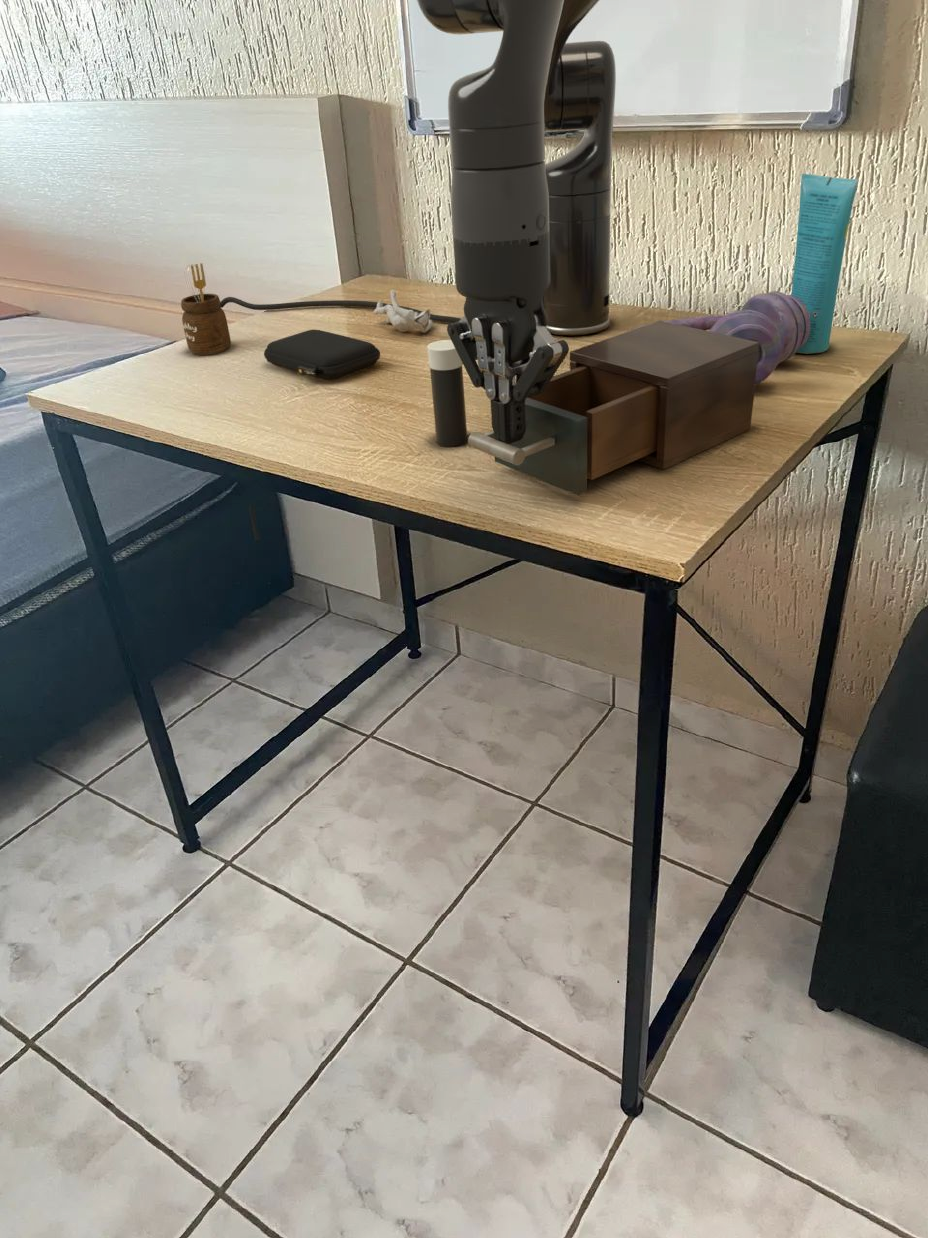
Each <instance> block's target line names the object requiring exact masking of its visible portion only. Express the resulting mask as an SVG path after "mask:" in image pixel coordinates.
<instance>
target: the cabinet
mask: <svg viewBox="0 0 928 1238" xmlns="http://www.w3.org/2000/svg"><path fill="white" fill-rule="evenodd" d="M664 321H665V320H658V321H655V322H652V323H648V324H649V325H647V324H645V325H646V326H643V325H642V326H643V327H640V326H639V327H640V328H637V327H636V328H637V329H634V328H633V329H634V330H632V329H631V330H629V331H626V332H622V333H620V334H617V335H614V336H611V337H608V338H606V339H602V340H599V341H596V342H594V343H592V344H588V345H585V346H583V347H579V348H576V349H574V350H571V351H569V371H570V370H573V369H576V368H578V367H581V366H584V365H587V366H591V367H594V368H598V369H602V370H605V371H609V372H612V373H616V374H619V375H623V376H627V377H630V378H634V379H637V380H641V381H644V382H648V383H652V384H655V385H659V386H660V398H659V420H658V441H657V451H655V452H653V453H651V454H648V455H646V456H644V457H642V458H640V459H637V460H636V461H638V462H641V463H645V464H647V465H649V466H652V467H655V468H657V469H660V470H666V469H668V468H671V467H673V466H674V465H677V464H679V463H681V462H683V461H685V460H687V459H689V458H691V457H694V456H696V455H698V454H700V453H702V452H705V451H707V450H709V449H710V448H712V447H714V446H717V445H720V444H721V443H724V442H726V441H727V440H730V439H732V438H734V437H737V436H738V435H741V434H742V433H745V432H747V431H749V430H750V429H751V426H752V416H753V408H754V399H755V389H756V385H755V380H756V370H757V360H758V351H759V342H755V341H751V340H746V339H742V338H737V337H732V336H728V335H723V334H719V333H714V332H710V330H701V329H696V328H692V327H687V326H682V325H678V324H673V323H669V322H664Z"/></svg>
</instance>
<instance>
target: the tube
mask: <svg viewBox="0 0 928 1238" xmlns="http://www.w3.org/2000/svg"><path fill="white" fill-rule="evenodd" d="M859 181H860V180H859V179H857V178H843V177H832V176H826V175H825V176H824V175H817V174H810V173H802V174H801V179H800V192H799V193H800V194H799V209H798V222H797V232H796V233H797V234H796V246H795V254H794V255H795V256H794V263H793V264H794V265H793V277H792V285H791V287H792V288H791V295H793V296H795V297H797V298H799V299H800V300H801V301H802V302H803V304H804V305H805V307H806V308H807V310H808V313H809V317H810V324H811V327H810V334H809V337H808V339H807V341H806V343H805V344H804V345H803V346H802V347H801V348H799V349H798V351H797V352H796V354H797V353H798V354H805V355H808V354H809V355H810V354H819V353H820V354H821V353H825V352H826V351H827V350H828V349H829V347H830V342H831V341H830V340H831V334H832V327H833V320H834V314H835V307H836V302H837V295H838V289H839V282H840V276H841V270H842V266H843V265H842V264H843V259H844V254H845V247H846V242H847V237H848V233H849V225H850V221H851V215H852V211H853V206H854V201H855V197H856V192H857V187H858V183H859Z"/></svg>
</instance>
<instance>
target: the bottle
mask: <svg viewBox="0 0 928 1238" xmlns="http://www.w3.org/2000/svg"><path fill="white" fill-rule="evenodd" d="M426 346H427V347H426V351H427V360H428V361H427V362H428V367H429V371H430V383H431V394H432V404H433V405H432V406H433V417H434V428H435V440H436V444H437V445H438V446H441V447H447V448H451V447H459V446H461V445H464V444H466V443H467V442H468V430H467V415H466V401H465V387H464V386H465V385H464V371H463V366H464V365H463V363H462V361H461V359H460V357H459V355H458V353H457V351H456V349H455V347H454V345H453V343H452V341H451V339H441V340H436V341H435V340H434V341H432V342H430V343H429V344H427V345H426Z"/></svg>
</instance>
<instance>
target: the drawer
mask: <svg viewBox="0 0 928 1238" xmlns="http://www.w3.org/2000/svg"><path fill="white" fill-rule="evenodd" d="M659 398H660V386H659V385H655V384H652V383H648V382H644V381H641V380H637V379H634V378H630V377H627V376H623V375H619V374H616V373H612V372H609V371H605V370H602V369H598V368H594V367H591V366H587V365H584V366H581V367H578V368H576V369H573V370H570V369H569V370H567V371H565V372H562V373H559V374H556V375H554V376H553V377H552V379H551V380H550V382H549V383H548V385H547V386H546V388H545V390H544V391H543V393H541V394H538V395H534V396H531V397H528V398H526V400H525V420H526V423H525V424H526V431H525V434H524V436H523V438H522V439H521V440H519V441H516V442H513V443H511V444H506V443H504V442H501V441H499V440H496V439H495V438H494V432H493V430H490V431H487V432H485V433H481V432H478V431H473V432H471V433H470V435H469V436H468V437H467V443H468V446H469V447H470V448H472V449H475V450H477V451H480V452H483V453H485V454H487V455H490V456H493V457H494V462H495V463H496V464H499V465H502V466H505V467H507V468H509V469H512V470H514V471H517V472H520V473H522V474H524V475H527V476H529V477H531V478H534V479H535V480H539V481H541V482H544V483H547V484H548V485H551V486H553V487H556V488H558V489H560V490H563V491H566V492H568V493H569V494H572V495H575V496H580V495H582V494H585V493H587V492H588V479H589V480H591V481H592V480H595V479H598V478H599V477H602V476H604V475H606V474H608V473H610V472H613V471H616V470H617V469H619V468H621V467H624V466H627V465H628V464H631V463H632V462H635V461H638V460H637V459H640V458H642V457H644V456H646V455H648V454H651V453H653V452H655V451H657V441H658V420H659Z"/></svg>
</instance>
